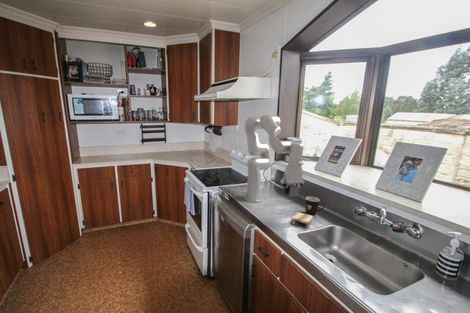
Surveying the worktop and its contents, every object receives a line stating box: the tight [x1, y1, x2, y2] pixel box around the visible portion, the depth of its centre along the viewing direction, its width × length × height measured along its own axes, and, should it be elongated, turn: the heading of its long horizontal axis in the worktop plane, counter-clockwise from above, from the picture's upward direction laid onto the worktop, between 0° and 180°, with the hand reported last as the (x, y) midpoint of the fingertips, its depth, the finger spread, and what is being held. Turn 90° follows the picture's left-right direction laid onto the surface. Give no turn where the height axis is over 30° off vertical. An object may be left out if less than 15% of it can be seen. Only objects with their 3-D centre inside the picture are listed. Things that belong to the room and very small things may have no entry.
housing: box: [283, 183, 300, 198], centre depth 142 cm, size 8×6×6 cm
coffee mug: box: [305, 196, 325, 216], centre depth 156 cm, size 12×9×10 cm
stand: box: [290, 211, 314, 230], centre depth 144 cm, size 10×10×4 cm
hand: (291, 193), depth 142 cm, fingers closed on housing, 5 cm apart
